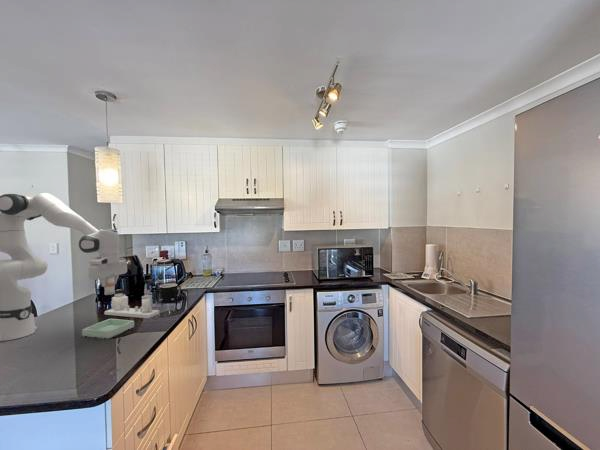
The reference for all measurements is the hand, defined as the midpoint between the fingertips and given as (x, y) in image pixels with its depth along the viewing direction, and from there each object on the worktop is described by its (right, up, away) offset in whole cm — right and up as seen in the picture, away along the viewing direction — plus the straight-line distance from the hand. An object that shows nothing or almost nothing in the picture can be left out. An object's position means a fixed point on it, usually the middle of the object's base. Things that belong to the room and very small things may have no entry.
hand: (109, 285), depth 144 cm
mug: (+5, -25, +55) cm, 61 cm away
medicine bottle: (-22, -25, +41) cm, 52 cm away
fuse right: (+5, -23, +26) cm, 35 cm away
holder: (-5, -25, +28) cm, 37 cm away
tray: (0, -25, 0) cm, 25 cm away
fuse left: (-15, -22, +29) cm, 40 cm away
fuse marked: (0, -5, 0) cm, 5 cm away
